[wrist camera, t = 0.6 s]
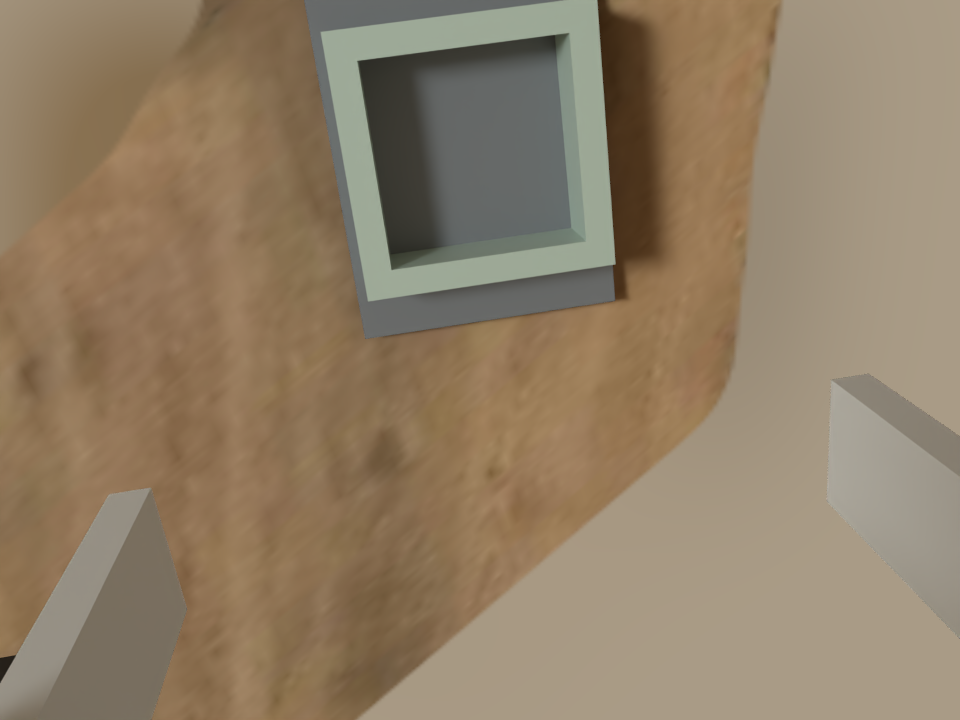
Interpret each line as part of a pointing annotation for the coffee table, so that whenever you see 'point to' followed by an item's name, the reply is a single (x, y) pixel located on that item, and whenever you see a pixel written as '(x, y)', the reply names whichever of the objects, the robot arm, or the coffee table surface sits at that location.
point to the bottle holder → (467, 156)
